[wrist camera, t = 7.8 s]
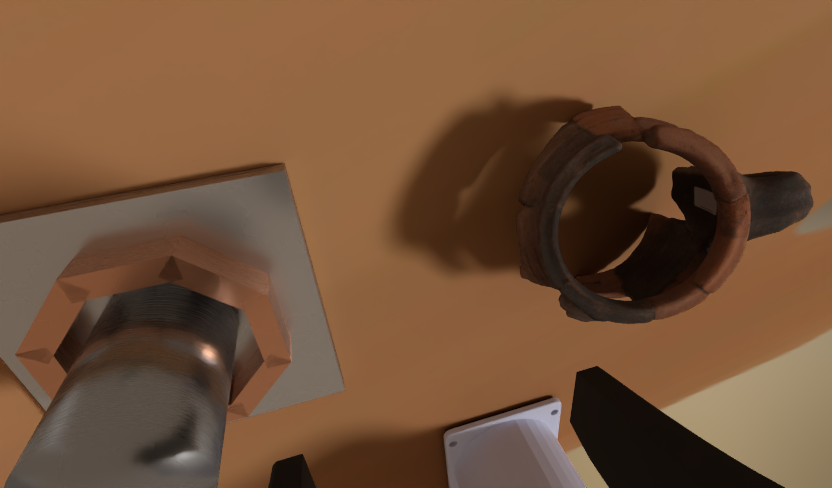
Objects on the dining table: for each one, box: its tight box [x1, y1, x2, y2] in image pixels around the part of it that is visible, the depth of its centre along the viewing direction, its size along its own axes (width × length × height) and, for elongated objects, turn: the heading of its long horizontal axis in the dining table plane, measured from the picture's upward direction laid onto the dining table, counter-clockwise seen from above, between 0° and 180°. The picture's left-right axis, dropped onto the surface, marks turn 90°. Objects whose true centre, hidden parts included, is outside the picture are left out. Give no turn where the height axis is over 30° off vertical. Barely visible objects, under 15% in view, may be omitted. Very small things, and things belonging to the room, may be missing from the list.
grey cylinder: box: [4, 282, 238, 488], centre depth 15 cm, size 5×5×7 cm
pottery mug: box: [516, 106, 813, 324], centre depth 19 cm, size 12×10×8 cm
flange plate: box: [0, 163, 345, 423], centre depth 18 cm, size 12×12×2 cm
